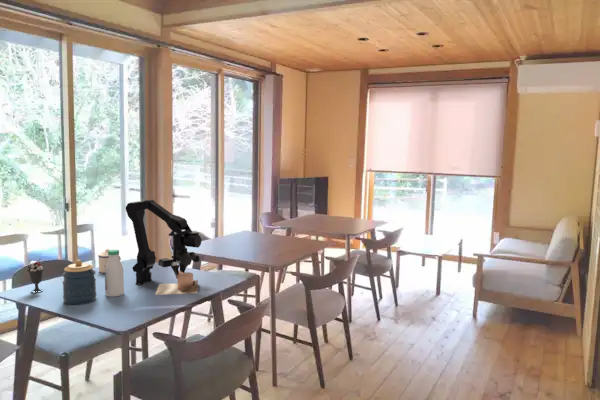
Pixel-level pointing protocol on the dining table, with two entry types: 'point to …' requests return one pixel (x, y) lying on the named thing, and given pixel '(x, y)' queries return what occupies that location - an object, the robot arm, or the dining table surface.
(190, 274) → the peach dome with handle
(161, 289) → the cradle
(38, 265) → the sundae
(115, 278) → the milk bottle
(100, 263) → the teacup with lid
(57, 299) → the dining table surface
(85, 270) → the canister
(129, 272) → the dining table surface
